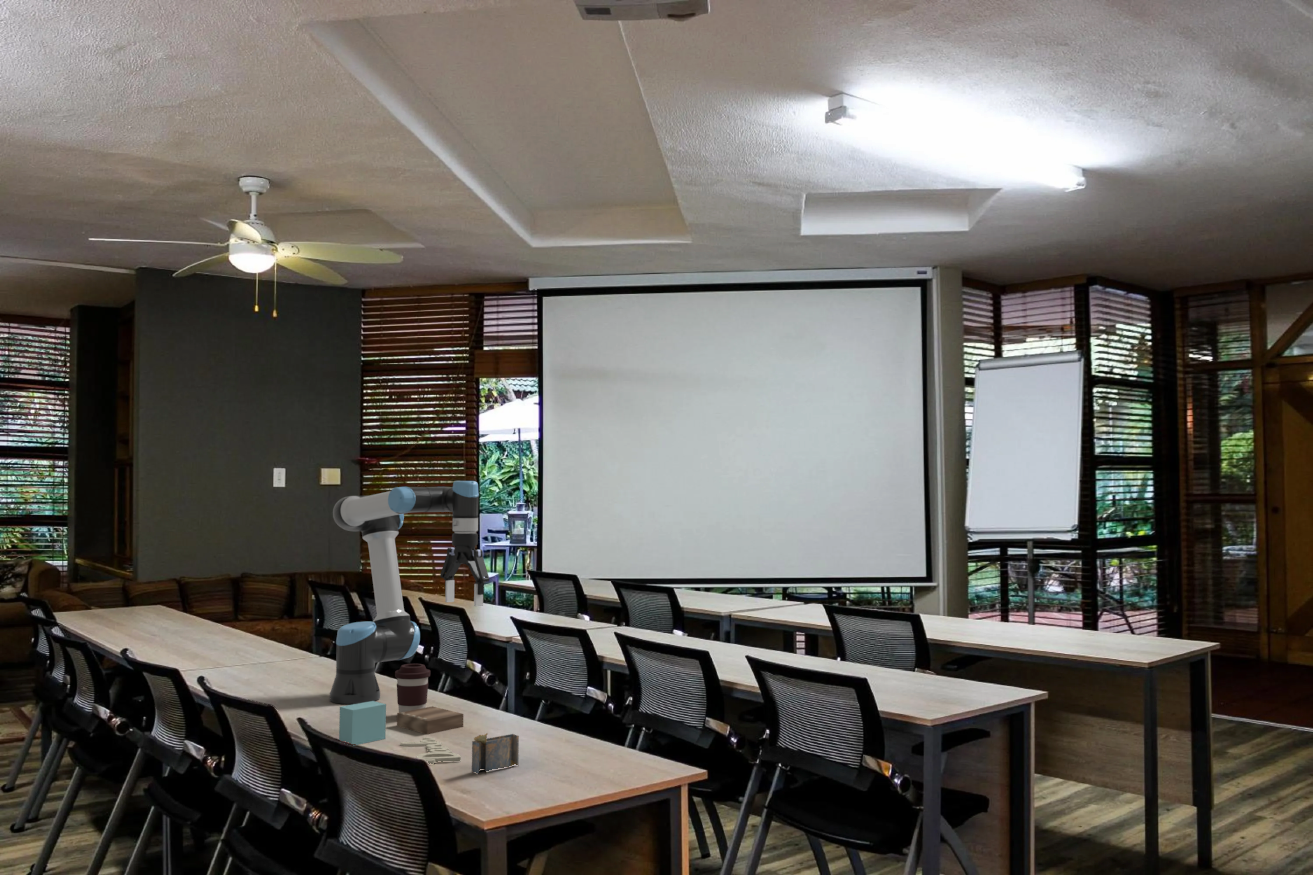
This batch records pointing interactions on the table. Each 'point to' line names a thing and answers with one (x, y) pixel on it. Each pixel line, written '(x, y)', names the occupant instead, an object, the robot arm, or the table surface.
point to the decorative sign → (434, 751)
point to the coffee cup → (412, 686)
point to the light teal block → (362, 722)
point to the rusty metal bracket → (494, 752)
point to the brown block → (430, 720)
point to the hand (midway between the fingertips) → (463, 604)
